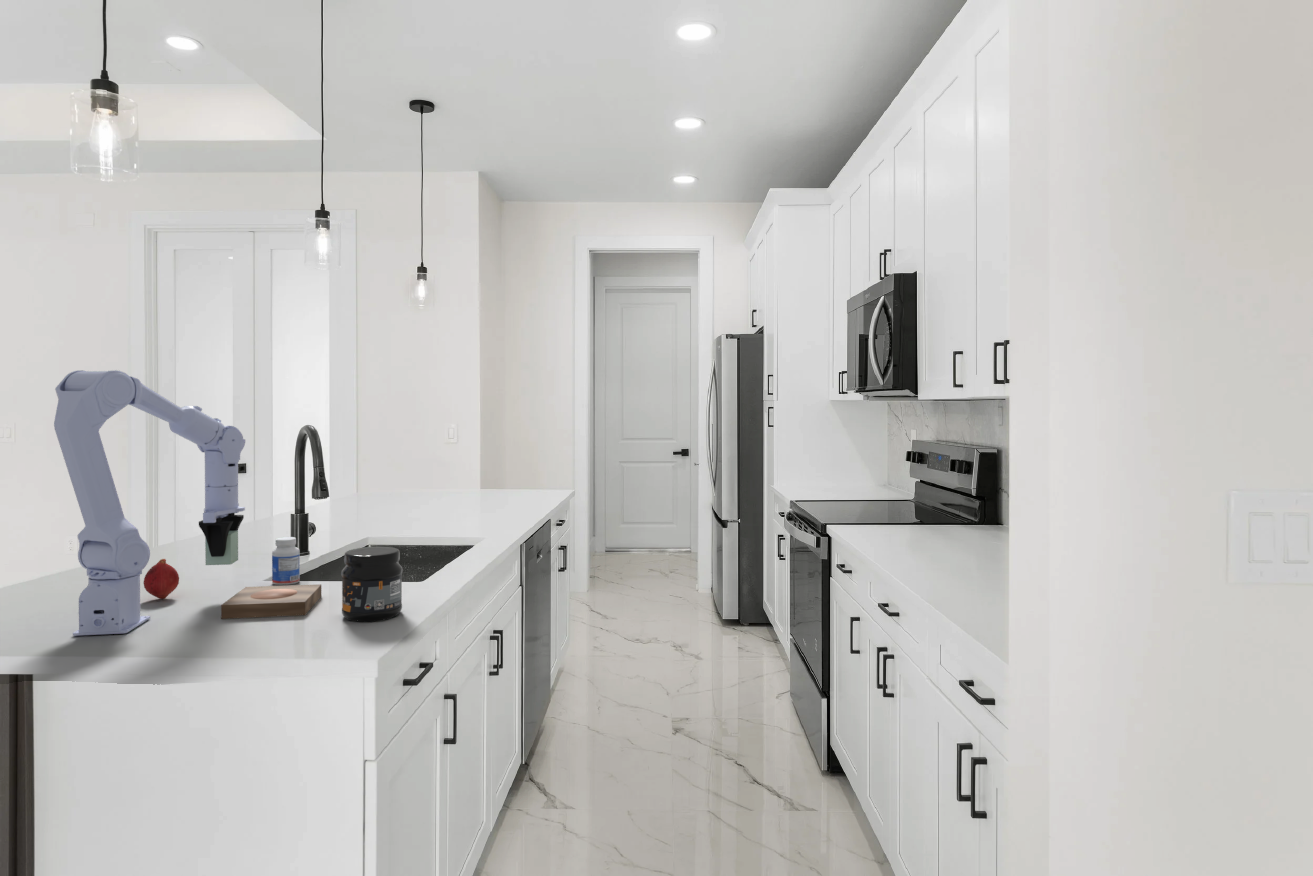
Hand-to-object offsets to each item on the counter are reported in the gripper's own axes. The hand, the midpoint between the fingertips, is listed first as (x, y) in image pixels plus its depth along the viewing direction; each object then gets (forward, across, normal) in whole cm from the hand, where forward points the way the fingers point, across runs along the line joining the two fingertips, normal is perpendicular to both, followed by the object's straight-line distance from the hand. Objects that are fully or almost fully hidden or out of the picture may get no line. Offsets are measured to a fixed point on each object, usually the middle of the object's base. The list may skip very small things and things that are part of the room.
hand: (222, 553), depth 149 cm
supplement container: (+9, -18, -31) cm, 37 cm away
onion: (+9, +1, +11) cm, 14 cm away
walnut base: (+9, -9, -12) cm, 17 cm away
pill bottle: (+9, +12, -9) cm, 18 cm away
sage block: (+2, 0, 0) cm, 2 cm away
